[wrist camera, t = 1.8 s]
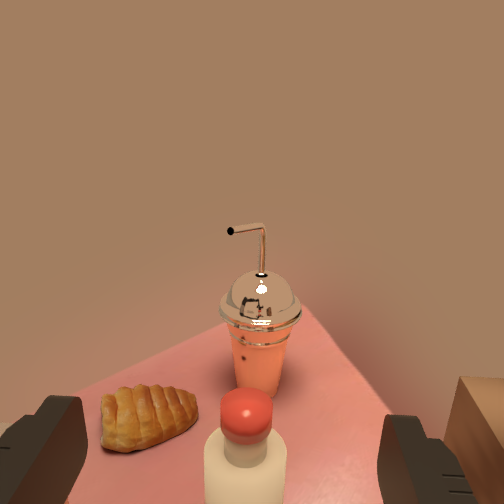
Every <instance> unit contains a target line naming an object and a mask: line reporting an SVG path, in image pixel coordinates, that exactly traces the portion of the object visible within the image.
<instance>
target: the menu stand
mask: <svg viewBox="0 0 504 504" xmlns="http://www.w3.org/2000/svg"><path fill="white" fill-rule="evenodd" d="M443 443H444V444H445V445H446V446H447V447H448V448H449V449H450V450H451V451H452V452H453V453H454V454H455V456H456V457H457V459H458V461H459V463H460V466H461V468H462V470H463V472H464V474H465V479H467V480H468V483H469V485H470V487H471V489H472V491H473V496H475V497H476V500H477V502H478V504H504V379H501V378H484V377H465V376H460V377H459V381H458V385H457V389H456V393H455V397H454V401H453V405H452V409H451V413H450V417H449V421H448V425H447V429H446V433H445V437H444V441H443Z"/></svg>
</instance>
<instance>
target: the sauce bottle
mask: <svg viewBox="0 0 504 504" xmlns="http://www.w3.org/2000/svg"><path fill="white" fill-rule="evenodd" d="M272 410H273V403H272V400H271V398H270V397H269V396H268V395H267V394H266V393H265V392H263V391H261V390H259V389H256V388H251V387H242V388H237V389H234V390H231V391H230V392H228V393H227V394H226V395H225V396H224V397H223V398H222V400H221V427H219V428H218V429H216V430H215V431H214V432H213V433H212V434H211V435H210V436H209V438H208V440H207V441H206V444H205V448H204V485H205V504H283V499H284V485H285V472H286V459H287V450H286V446H285V443H284V441H283V439H282V438H281V436H280V435H279V434H278V433H277V432H276V431H275V430H274V429H272Z"/></svg>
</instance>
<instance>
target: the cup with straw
mask: <svg viewBox="0 0 504 504" xmlns="http://www.w3.org/2000/svg"><path fill="white" fill-rule="evenodd" d="M255 230H259V254H258V270H255V271H250V272H247V273H245V274H243V275H242V276H240V277H239V278H238V279H236V280H235V281H234V283H233V285H232V286H231V288H230V290H229V292H228V293H226V294H225V295H224V296H223V297H222V299H221V301H220V306H219V314H220V316H221V318H222V319H223V320H224V321H225V322H226V323H227V326H228V329H229V334H230V336H231V343H232V351H233V360H234V368H235V377H236V382H237V388H242V387H251V388H256V389H259V390H261V391H263V392H265V393H266V394H267V395H268V396H269V397H270V398H272V397H273V396H274V395H275V394H276V393H277V391H278V384H279V381H280V376H281V371H282V366H283V361H284V355H285V350H286V345H287V340H288V338H289V336H290V332H291V330H292V327H293V325H295V324H296V323H297V322H298V321H299V320H300V318H301V316H302V309H301V303H300V301H299V300H298V298H297V297H296V296H295V295H294V294H293V292H292V289H291V287H290V286H289V284H288V283H287V282H286V281H285V279H284V278H282V277H281V276H279V275H277V274H276V273H273V272H271V271H266V270H265V256H266V228H265V226H264V224H263V223H261V222H258V223H252V224H246V225H240V226H234V227H229V228H228V230H227V232H228V234H229V235H235V234H240V233H245V232H250V231H255Z"/></svg>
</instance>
